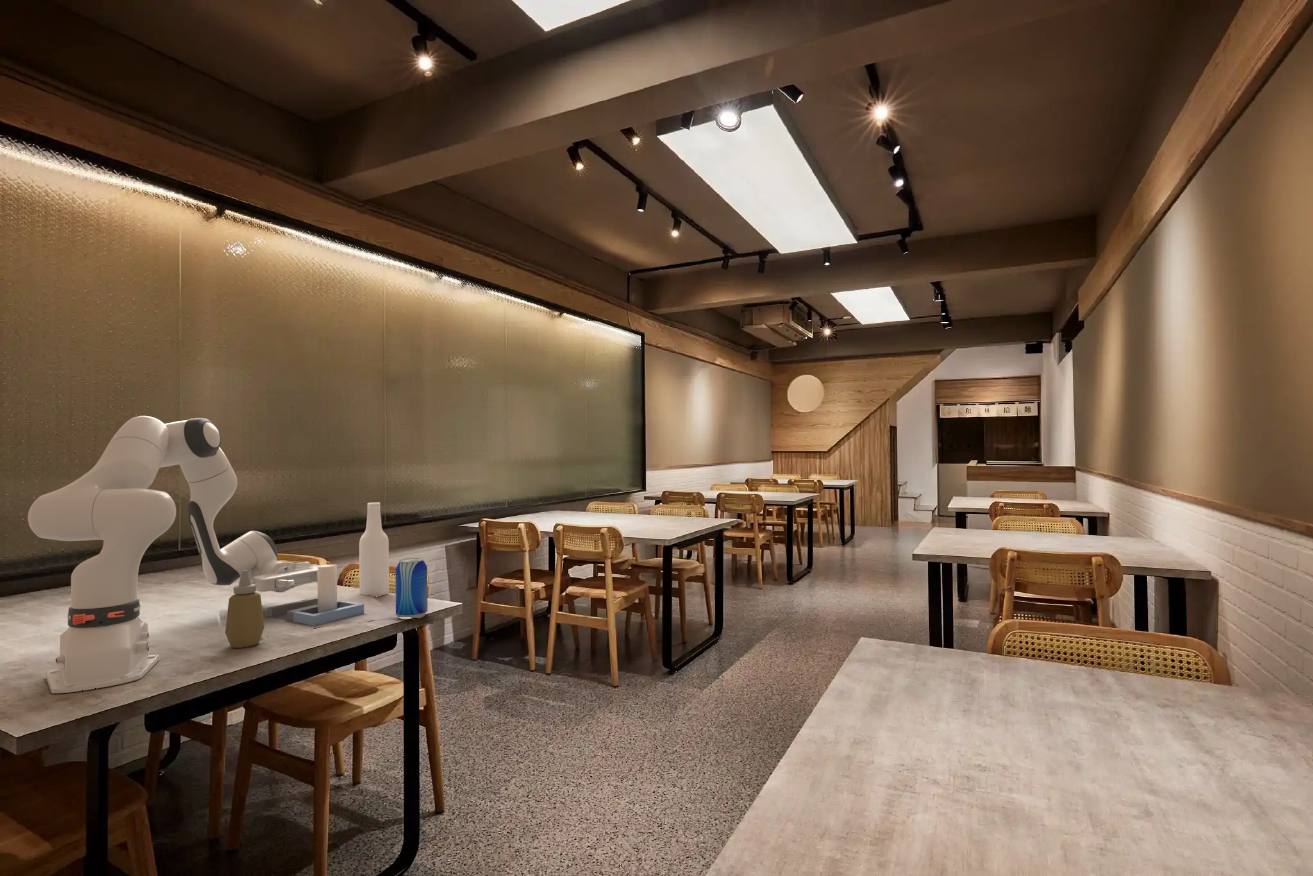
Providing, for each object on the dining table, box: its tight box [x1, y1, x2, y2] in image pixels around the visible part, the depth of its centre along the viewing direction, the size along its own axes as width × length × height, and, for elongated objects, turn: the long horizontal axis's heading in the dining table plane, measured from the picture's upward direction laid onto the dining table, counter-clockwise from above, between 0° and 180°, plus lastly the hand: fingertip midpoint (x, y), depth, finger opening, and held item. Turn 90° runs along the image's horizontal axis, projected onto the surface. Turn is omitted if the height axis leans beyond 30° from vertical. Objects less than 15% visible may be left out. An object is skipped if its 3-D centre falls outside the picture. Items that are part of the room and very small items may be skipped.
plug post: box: [317, 564, 338, 613], centre depth 182 cm, size 5×5×14 cm
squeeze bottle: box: [224, 570, 265, 649], centre depth 160 cm, size 8×8×18 cm
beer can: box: [394, 557, 429, 619], centre depth 185 cm, size 8×8×16 cm
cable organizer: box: [266, 596, 366, 630], centre depth 185 cm, size 22×15×4 cm
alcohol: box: [358, 501, 390, 598], centre depth 214 cm, size 9×9×30 cm
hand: (308, 580), depth 187 cm, fingers open, 8 cm apart
